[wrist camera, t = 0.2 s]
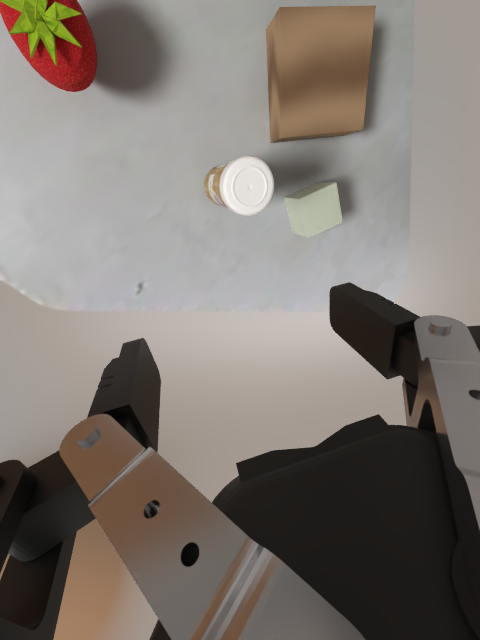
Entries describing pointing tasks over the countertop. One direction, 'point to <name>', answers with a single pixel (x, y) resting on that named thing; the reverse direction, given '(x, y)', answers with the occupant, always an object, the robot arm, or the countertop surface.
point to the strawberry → (53, 40)
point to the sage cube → (314, 209)
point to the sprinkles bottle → (241, 185)
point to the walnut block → (318, 70)
